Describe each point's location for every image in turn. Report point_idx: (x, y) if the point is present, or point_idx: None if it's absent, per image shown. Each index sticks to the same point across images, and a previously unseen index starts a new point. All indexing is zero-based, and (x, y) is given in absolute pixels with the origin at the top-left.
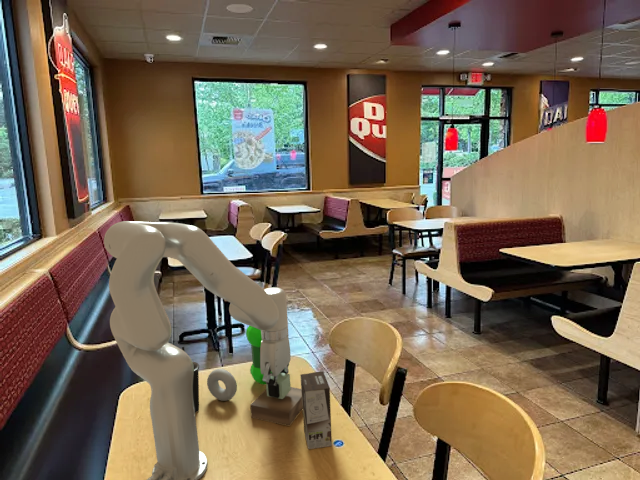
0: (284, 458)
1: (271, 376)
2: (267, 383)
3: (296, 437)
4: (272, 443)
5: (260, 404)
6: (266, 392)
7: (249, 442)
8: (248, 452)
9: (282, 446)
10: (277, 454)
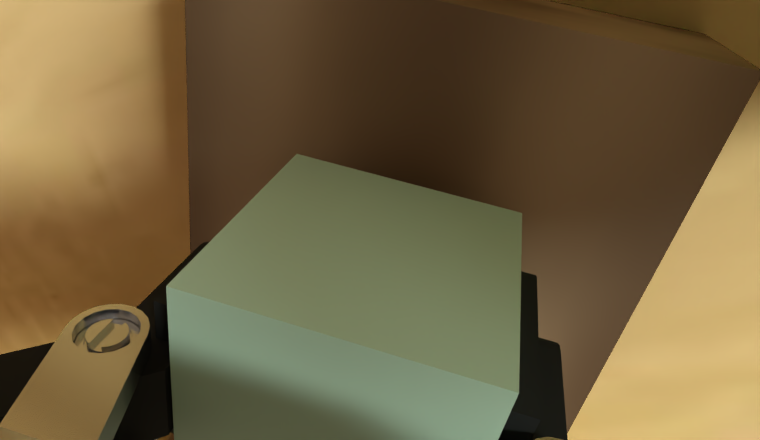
0: (9, 284)
1: (310, 361)
2: (26, 353)
3: None
4: (68, 204)
5: (223, 76)
6: (488, 71)
7: (3, 50)
8: None
9: (74, 262)
10: (12, 247)
